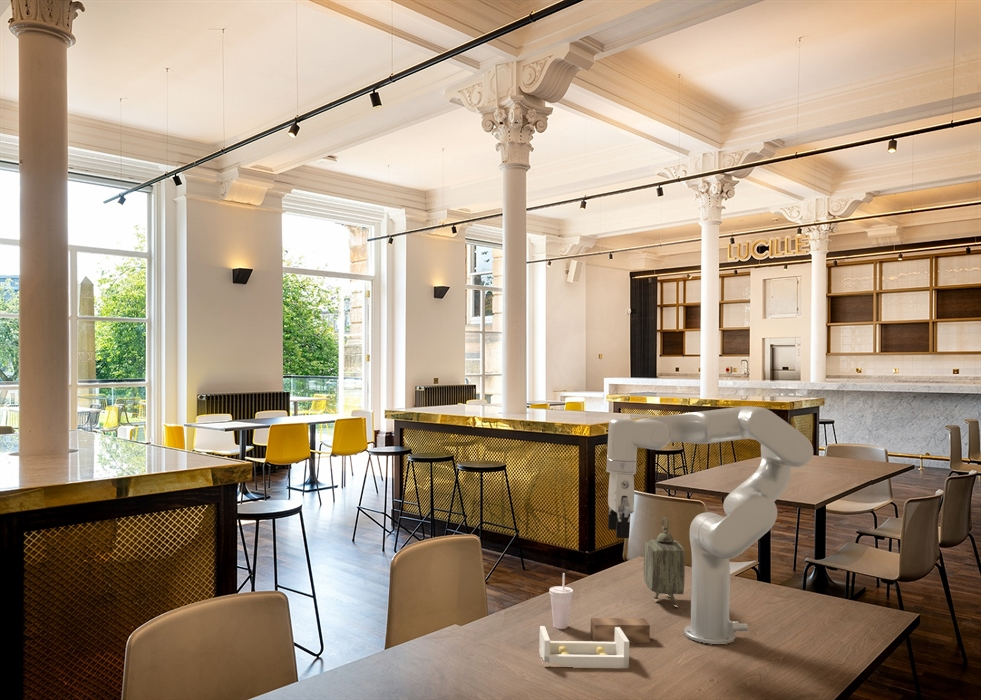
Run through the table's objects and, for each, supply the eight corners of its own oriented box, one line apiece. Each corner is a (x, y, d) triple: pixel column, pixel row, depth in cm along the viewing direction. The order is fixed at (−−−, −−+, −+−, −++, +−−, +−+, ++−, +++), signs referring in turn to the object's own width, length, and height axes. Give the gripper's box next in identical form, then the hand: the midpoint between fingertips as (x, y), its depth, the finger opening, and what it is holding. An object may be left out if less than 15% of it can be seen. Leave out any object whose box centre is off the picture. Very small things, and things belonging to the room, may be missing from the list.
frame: (619, 652, 170) (619, 627, 170) (628, 668, 160) (629, 641, 161) (539, 651, 169) (539, 626, 169) (544, 667, 159) (544, 640, 160)
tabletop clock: (684, 610, 203) (685, 523, 204) (652, 609, 203) (654, 522, 204) (671, 595, 217) (673, 513, 218) (642, 594, 217) (644, 512, 218)
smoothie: (571, 631, 183) (572, 577, 183) (546, 629, 184) (548, 575, 185) (573, 623, 189) (574, 570, 190) (549, 621, 190) (551, 568, 191)
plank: (643, 636, 182) (644, 618, 182) (649, 643, 177) (649, 625, 177) (590, 635, 181) (590, 618, 181) (594, 643, 176) (594, 624, 176)
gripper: (644, 472, 173) (641, 542, 173) (627, 463, 191) (624, 527, 190) (614, 470, 173) (610, 540, 172) (600, 462, 190) (597, 526, 190)
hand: (618, 533), depth 181 cm, fingers open, 9 cm apart
